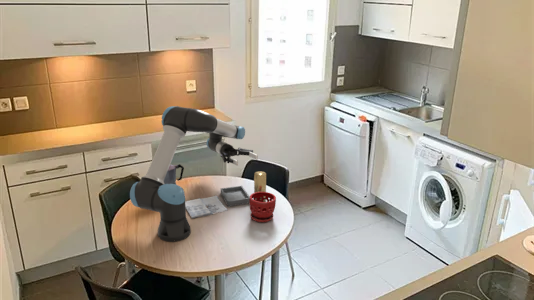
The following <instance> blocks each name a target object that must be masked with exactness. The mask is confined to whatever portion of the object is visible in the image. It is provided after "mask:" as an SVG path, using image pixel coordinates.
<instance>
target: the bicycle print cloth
mask: <svg viewBox="0 0 534 300" xmlns="http://www.w3.org/2000/svg"><path fill="white" fill-rule="evenodd" d="M185 207H186V211H187V213H188V215H189V216H190V217H191V219H195V218H200V217H205V216H210V215H214V214H218V213H222V212H224V213H225V212H227V211H228V209H227V207H226V206H225V205H224V204H223V203H222V201H220V198H219V196H217V195H214V196H210V197H209V196H208V197H203V198H201V197H198V198H196V199H191V200H185Z"/></svg>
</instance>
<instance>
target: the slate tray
mask: <svg viewBox="0 0 534 300" xmlns="http://www.w3.org/2000/svg"><path fill="white" fill-rule="evenodd" d="M220 195H221V197H222V198H223V200H224V202H225V204H226V206H227V207H234V206H241V205H247V204H250V203H249V200H250V195H249V193H248V192H247V191H246V189H245V187H244V186H243V185H237V186H230V187H222V188H220Z"/></svg>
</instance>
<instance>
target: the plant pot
mask: <svg viewBox="0 0 534 300" xmlns="http://www.w3.org/2000/svg"><path fill="white" fill-rule="evenodd" d="M249 196H250V200H249V203H248V204H249V210H250V212H251V213H250V218H251V219H252V220H253V221H255V222H257V223H268V222H270V221H271V220H273V218H274V212H275V209H276V203H277V198H276V195H275V194H273V193H271V192H268V191H266V192H256V193H254V192H253V193H251V194H250V195H249ZM264 196H265V198H264ZM256 198H257V199H256ZM260 198H262V199H261V200H260ZM264 199H266V202H263V200H264ZM258 201H259V202H258Z"/></svg>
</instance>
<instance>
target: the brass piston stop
mask: <svg viewBox="0 0 534 300" xmlns="http://www.w3.org/2000/svg"><path fill="white" fill-rule="evenodd" d="M253 174H254V175H253V176H254V177H253V181H254V182H253V186H254V187H253V190H254V191H253V193H256V192H267V173H266V172H265V171H255V172H254V173H253ZM264 198H265V196H264ZM256 199H257V198H256ZM261 199H262V198H260V200H261ZM258 202H259V201H258ZM263 202H267V200H266V199H264V200H263Z"/></svg>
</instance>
